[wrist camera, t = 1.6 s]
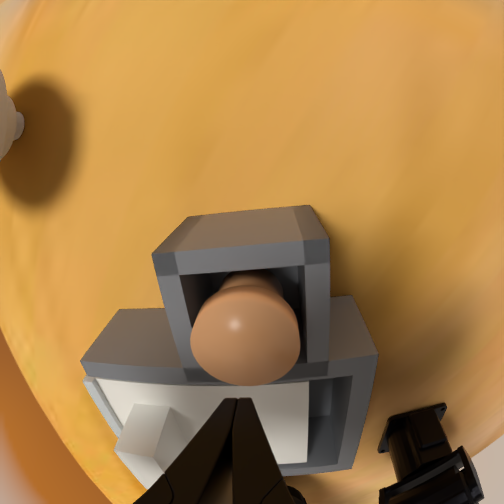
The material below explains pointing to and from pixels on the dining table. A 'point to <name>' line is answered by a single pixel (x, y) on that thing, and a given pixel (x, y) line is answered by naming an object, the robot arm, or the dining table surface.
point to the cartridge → (193, 418)
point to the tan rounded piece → (246, 330)
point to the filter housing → (295, 294)
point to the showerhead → (8, 120)
